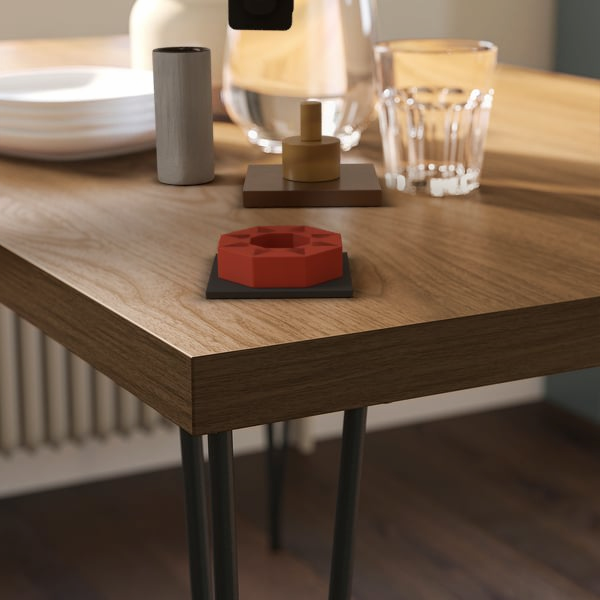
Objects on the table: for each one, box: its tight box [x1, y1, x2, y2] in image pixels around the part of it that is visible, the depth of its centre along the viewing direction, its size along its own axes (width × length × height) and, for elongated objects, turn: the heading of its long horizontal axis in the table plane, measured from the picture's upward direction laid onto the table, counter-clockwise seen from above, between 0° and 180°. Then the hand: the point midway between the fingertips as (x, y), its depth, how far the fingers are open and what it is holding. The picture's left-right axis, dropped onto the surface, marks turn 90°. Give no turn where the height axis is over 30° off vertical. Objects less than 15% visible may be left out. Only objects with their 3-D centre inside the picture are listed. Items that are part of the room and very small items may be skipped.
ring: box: [216, 225, 344, 288], centre depth 67 cm, size 7×7×2 cm
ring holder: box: [242, 100, 383, 208], centre depth 89 cm, size 10×10×7 cm
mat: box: [205, 251, 354, 299], centre depth 68 cm, size 8×8×1 cm
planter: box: [151, 46, 215, 186], centre depth 93 cm, size 4×4×10 cm
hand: (263, 21), depth 64 cm, fingers open, 9 cm apart
